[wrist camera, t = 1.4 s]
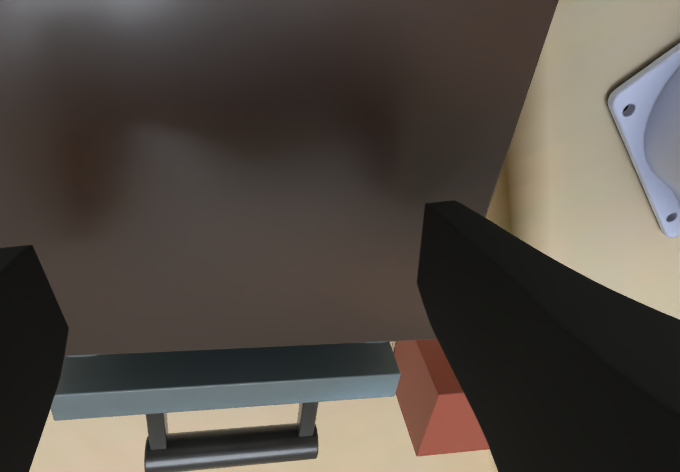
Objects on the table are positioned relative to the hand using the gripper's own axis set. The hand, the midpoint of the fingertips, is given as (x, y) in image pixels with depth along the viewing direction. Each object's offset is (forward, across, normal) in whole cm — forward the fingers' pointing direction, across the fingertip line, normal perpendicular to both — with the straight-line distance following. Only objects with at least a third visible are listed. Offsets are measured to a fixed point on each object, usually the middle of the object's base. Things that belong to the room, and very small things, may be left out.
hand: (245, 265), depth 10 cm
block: (+10, -9, +14) cm, 19 cm away
